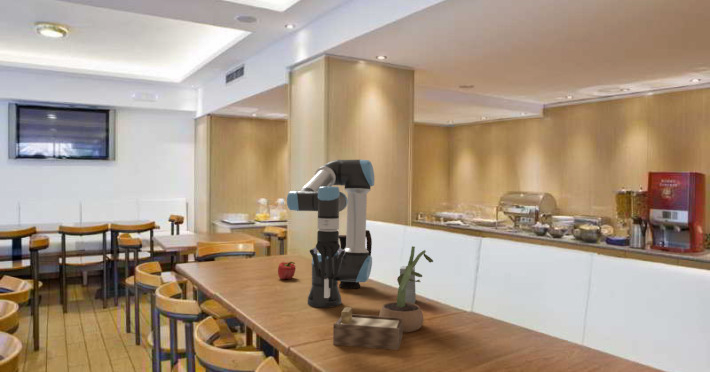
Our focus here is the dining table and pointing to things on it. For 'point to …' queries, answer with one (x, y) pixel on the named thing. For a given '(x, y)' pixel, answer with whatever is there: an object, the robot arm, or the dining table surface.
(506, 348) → the dining table surface
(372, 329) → the box
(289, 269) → the vegetable
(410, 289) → the skincare box
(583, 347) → the dining table surface
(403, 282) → the potted plant
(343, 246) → the jug
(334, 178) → the robot arm
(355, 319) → the lid
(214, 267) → the dining table surface
